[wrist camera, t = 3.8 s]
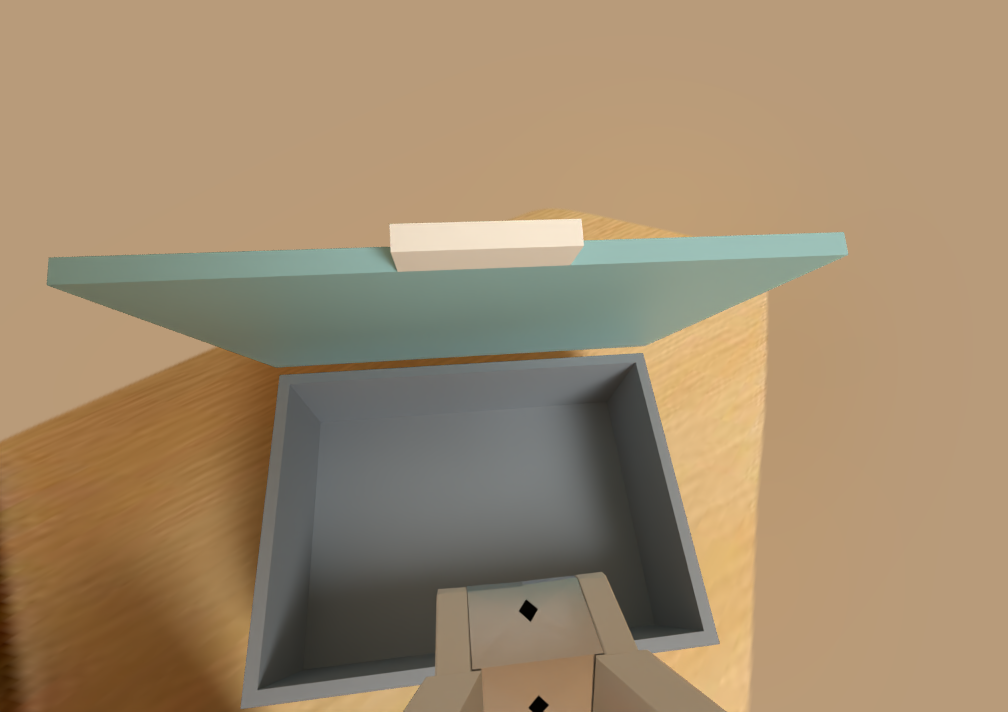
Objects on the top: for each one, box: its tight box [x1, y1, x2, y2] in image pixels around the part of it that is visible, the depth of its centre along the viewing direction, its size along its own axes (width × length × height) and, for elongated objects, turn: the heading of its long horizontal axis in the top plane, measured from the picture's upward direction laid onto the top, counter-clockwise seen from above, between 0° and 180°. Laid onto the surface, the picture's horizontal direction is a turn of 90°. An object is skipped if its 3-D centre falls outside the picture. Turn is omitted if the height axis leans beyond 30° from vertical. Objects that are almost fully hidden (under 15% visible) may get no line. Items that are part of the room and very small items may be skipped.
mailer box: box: [241, 353, 720, 709], centre depth 23 cm, size 18×13×6 cm
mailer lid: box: [47, 219, 848, 368], centre depth 17 cm, size 18×14×1 cm
